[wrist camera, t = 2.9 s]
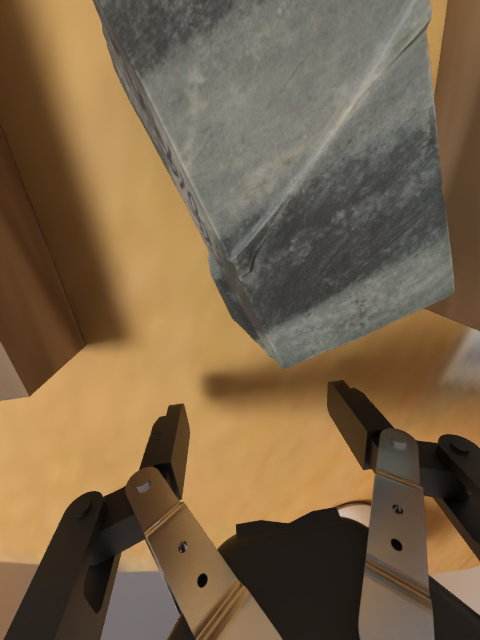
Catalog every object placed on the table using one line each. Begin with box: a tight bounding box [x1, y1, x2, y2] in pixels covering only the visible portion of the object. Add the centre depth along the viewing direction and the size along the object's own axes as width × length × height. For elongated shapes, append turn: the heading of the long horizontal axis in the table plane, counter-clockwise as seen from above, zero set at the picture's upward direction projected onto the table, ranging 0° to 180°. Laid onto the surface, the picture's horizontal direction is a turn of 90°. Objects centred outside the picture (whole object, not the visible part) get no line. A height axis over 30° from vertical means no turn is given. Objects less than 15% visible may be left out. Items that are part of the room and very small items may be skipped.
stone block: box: [93, 0, 455, 369], centre depth 10 cm, size 9×14×5 cm, turn 26°
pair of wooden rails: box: [0, 0, 480, 401], centre depth 8 cm, size 22×20×5 cm
